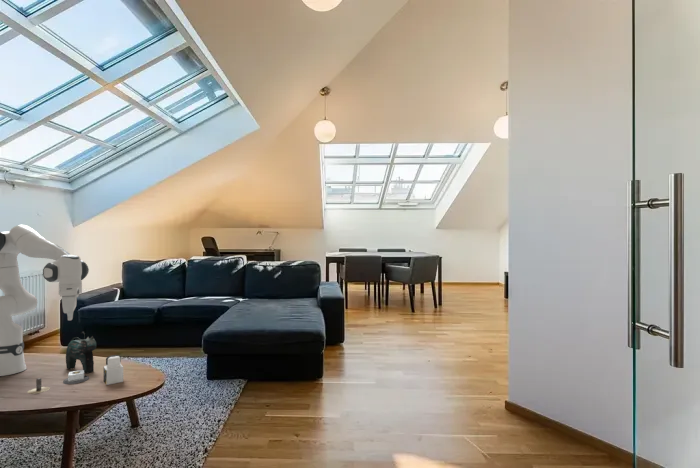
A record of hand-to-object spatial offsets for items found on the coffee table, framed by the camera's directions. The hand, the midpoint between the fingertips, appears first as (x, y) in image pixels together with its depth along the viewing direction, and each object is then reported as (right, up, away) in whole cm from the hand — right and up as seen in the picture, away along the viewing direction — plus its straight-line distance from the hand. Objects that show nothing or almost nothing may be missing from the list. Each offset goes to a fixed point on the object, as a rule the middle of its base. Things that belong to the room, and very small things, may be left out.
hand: (70, 319), depth 185 cm
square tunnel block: (0, -29, +4) cm, 29 cm away
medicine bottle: (+17, -30, +4) cm, 35 cm away
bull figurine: (-9, -31, +20) cm, 38 cm away
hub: (0, -30, +4) cm, 30 cm away
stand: (-8, -30, -9) cm, 32 cm away
